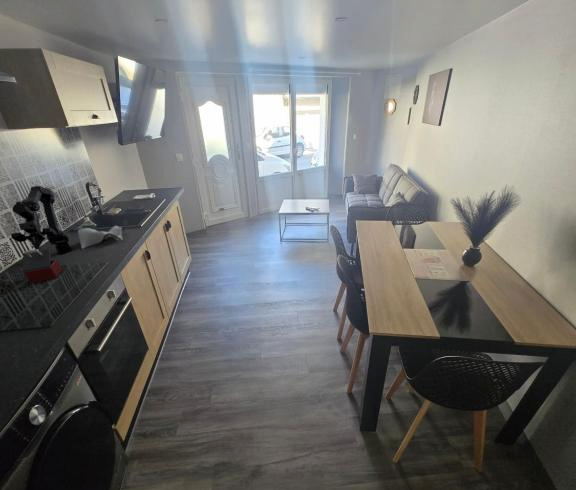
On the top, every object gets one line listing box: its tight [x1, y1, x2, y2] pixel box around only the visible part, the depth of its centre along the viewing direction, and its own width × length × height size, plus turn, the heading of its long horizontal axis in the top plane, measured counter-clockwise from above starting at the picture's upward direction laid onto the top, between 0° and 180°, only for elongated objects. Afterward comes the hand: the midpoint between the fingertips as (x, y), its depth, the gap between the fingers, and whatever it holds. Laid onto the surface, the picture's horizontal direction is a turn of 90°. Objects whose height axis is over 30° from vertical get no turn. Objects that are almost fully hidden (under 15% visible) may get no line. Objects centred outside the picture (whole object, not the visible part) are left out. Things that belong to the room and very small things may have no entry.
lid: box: [21, 248, 51, 273], centre depth 153 cm, size 11×12×5 cm
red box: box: [23, 259, 63, 284], centre depth 159 cm, size 10×12×6 cm
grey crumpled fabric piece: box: [77, 225, 126, 250], centre depth 197 cm, size 25×19×10 cm
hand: (36, 249), depth 157 cm, fingers closed
